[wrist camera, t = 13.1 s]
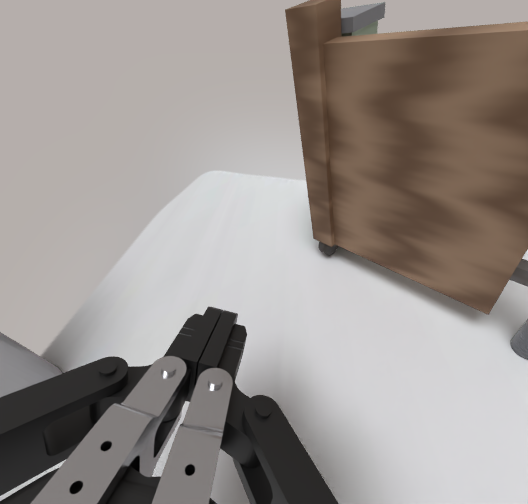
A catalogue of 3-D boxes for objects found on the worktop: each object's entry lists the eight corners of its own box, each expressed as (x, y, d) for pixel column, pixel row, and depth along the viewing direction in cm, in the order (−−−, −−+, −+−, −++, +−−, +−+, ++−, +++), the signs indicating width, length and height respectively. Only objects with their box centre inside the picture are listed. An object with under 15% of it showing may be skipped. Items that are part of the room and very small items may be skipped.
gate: (509, 322, 23) (807, -95, 8) (497, 345, 22) (812, -83, 7) (328, 239, 34) (310, -1, 19) (314, 253, 33) (284, 10, 18)
